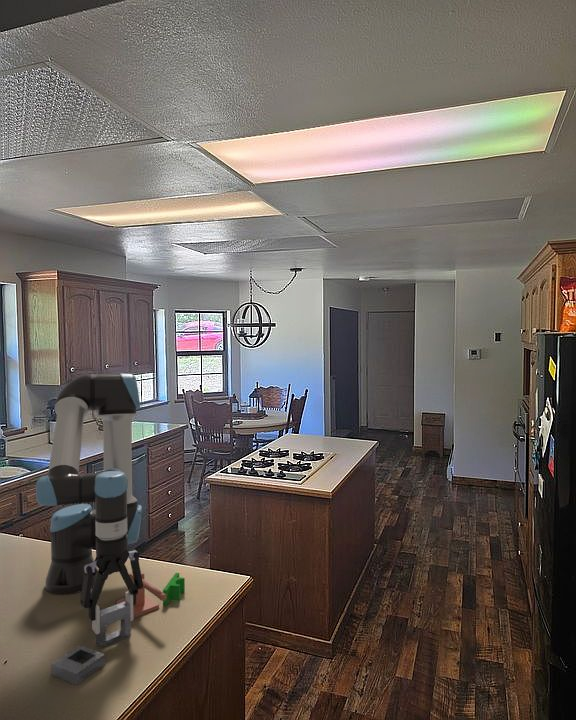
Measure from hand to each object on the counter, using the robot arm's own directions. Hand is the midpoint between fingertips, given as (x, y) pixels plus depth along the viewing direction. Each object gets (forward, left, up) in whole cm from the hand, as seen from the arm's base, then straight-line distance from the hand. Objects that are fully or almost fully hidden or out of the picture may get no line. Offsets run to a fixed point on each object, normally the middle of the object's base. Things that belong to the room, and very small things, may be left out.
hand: (113, 624), depth 130 cm
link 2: (0, 0, -4) cm, 4 cm away
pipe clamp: (-9, +23, -4) cm, 25 cm away
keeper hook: (-6, +12, -4) cm, 14 cm away
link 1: (+6, -11, -4) cm, 13 cm away
